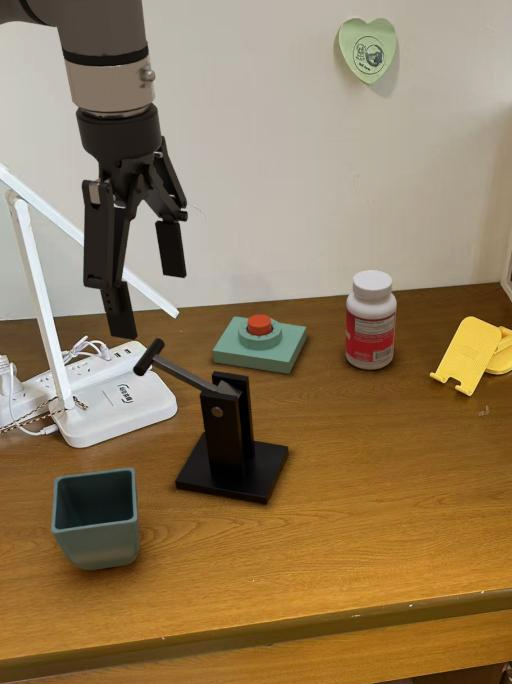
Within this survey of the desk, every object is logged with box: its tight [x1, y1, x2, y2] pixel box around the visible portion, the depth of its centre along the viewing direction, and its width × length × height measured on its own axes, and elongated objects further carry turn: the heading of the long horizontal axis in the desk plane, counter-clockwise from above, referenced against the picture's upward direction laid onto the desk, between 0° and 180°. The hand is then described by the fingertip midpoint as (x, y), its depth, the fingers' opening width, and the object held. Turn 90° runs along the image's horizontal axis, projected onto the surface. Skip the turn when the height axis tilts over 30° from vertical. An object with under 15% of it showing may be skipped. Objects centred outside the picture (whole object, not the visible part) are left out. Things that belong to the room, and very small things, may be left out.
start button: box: [247, 314, 272, 336], centre depth 118 cm, size 4×4×2 cm
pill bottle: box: [344, 269, 398, 371], centre depth 115 cm, size 8×8×14 cm
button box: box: [212, 316, 307, 375], centre depth 119 cm, size 12×10×4 cm
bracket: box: [174, 370, 290, 505], centre depth 96 cm, size 12×10×14 cm
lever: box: [132, 337, 242, 399], centre depth 91 cm, size 12×6×2 cm, turn 78°
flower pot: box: [50, 467, 141, 571], centre depth 87 cm, size 9×9×9 cm
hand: (151, 304), depth 87 cm, fingers open, 13 cm apart
